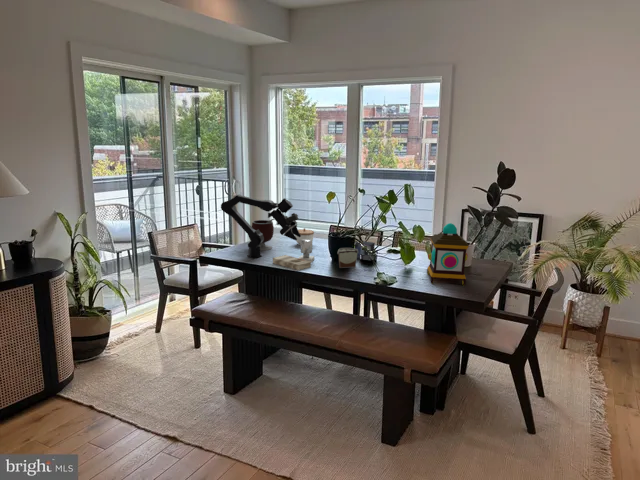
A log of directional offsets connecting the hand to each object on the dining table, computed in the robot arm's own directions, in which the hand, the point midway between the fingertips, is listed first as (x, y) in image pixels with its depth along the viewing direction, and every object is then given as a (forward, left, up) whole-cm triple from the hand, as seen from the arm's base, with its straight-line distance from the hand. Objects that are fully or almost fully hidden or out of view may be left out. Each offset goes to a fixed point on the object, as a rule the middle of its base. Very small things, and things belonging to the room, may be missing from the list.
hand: (298, 238), depth 276 cm
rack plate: (+5, -11, -13) cm, 17 cm away
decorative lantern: (+79, +28, -13) cm, 85 cm away
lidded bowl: (-25, +31, -13) cm, 42 cm away
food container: (+27, +10, -13) cm, 32 cm away
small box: (+25, +30, -13) cm, 42 cm away
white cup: (+4, +2, -11) cm, 12 cm away
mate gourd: (-35, +4, -13) cm, 37 cm away
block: (+4, +2, -13) cm, 14 cm away
